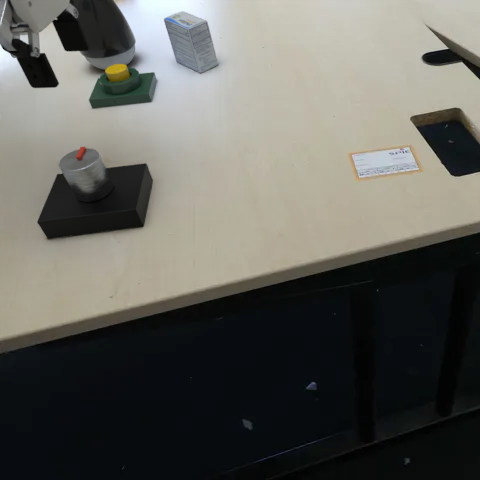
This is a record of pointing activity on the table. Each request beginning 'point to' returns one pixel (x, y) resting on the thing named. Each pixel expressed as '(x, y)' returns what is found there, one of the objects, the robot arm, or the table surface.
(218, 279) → the table surface
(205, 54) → the medicine box
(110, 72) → the yellow push button
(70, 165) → the knob
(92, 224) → the dial panel
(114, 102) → the button housing
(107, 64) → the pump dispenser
